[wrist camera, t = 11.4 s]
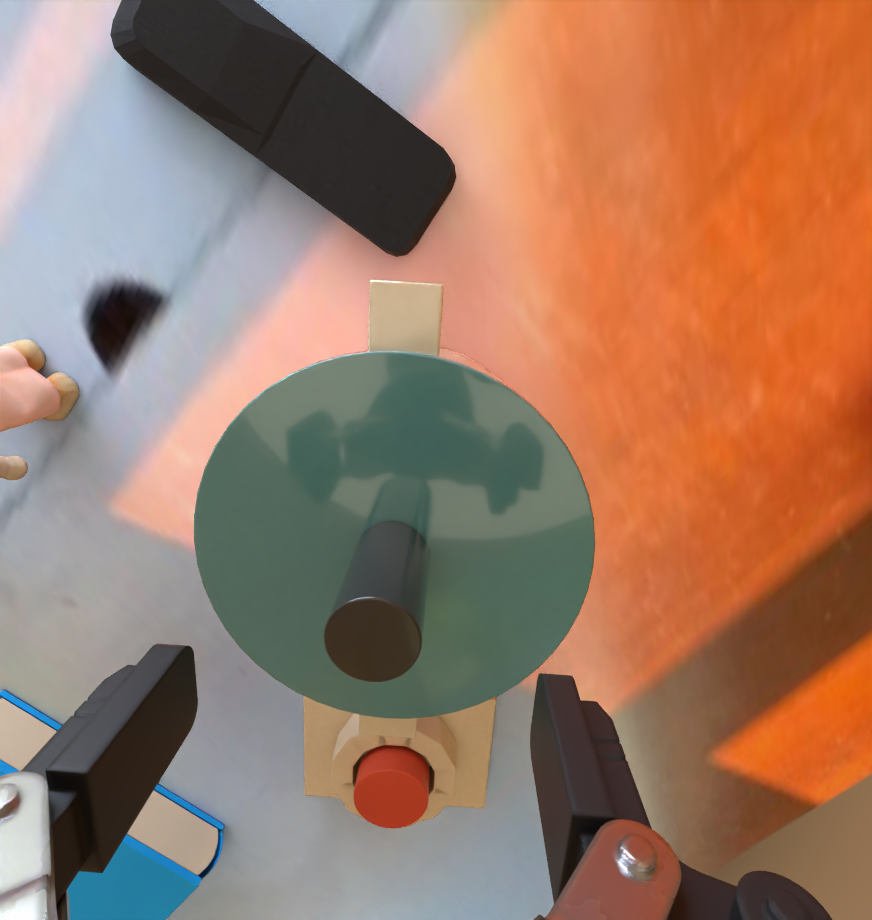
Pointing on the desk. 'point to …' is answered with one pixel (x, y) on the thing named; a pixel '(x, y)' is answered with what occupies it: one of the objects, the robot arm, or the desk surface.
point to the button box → (437, 740)
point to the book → (142, 850)
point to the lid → (394, 534)
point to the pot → (413, 329)
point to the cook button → (392, 786)
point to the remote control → (291, 111)
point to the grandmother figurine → (29, 396)
